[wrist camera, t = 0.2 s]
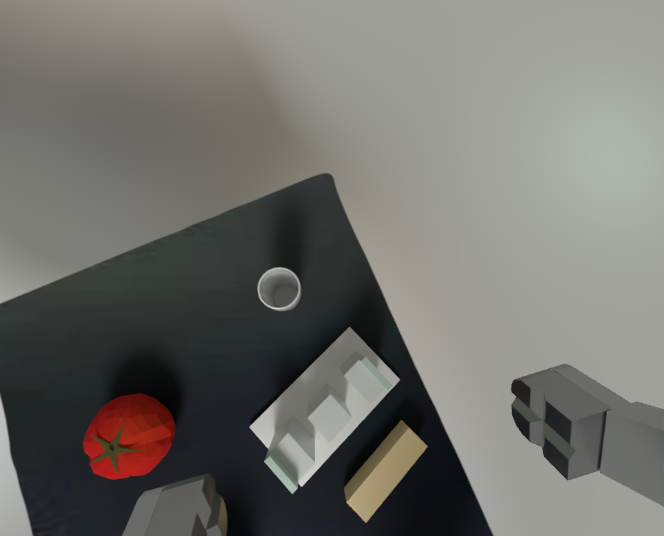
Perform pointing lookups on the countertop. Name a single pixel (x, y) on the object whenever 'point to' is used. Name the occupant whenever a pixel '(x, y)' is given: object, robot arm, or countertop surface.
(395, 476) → the tan wooden plank
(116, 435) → the tomato
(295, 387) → the display stand
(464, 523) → the countertop surface
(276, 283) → the drinking glass
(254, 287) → the countertop surface
